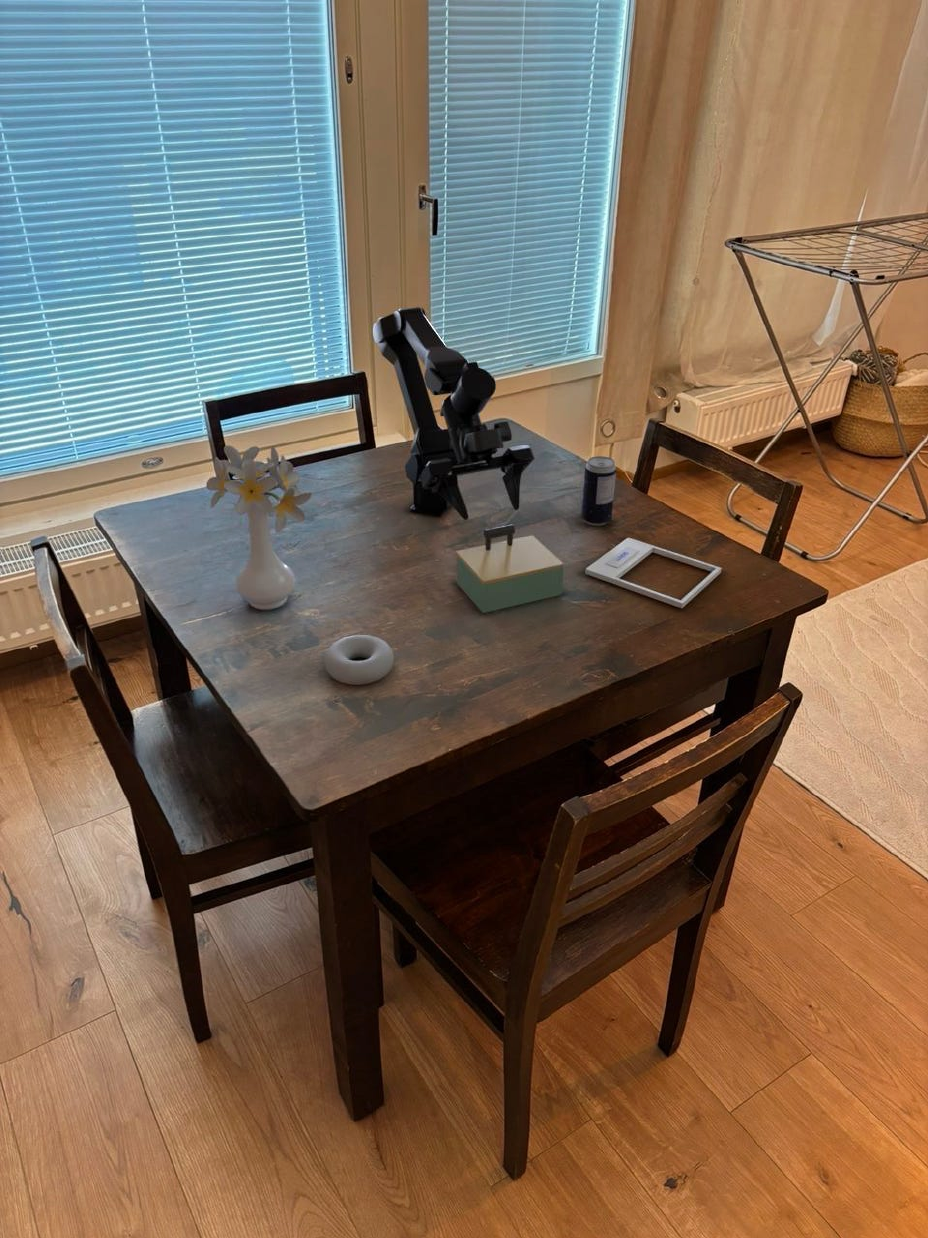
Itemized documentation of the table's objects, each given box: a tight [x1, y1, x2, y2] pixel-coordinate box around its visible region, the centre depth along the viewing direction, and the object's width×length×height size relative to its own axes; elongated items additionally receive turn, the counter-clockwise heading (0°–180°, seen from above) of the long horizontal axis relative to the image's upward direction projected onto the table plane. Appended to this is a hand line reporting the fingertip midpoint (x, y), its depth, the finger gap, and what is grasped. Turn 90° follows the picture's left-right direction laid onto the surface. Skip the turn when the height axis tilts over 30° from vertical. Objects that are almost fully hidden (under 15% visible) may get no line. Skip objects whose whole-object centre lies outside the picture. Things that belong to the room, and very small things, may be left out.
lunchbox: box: [456, 555, 564, 614], centre depth 150 cm, size 10×14×5 cm
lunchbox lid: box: [455, 524, 565, 585], centre depth 148 cm, size 11×14×4 cm
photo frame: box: [584, 537, 723, 609], centre depth 156 cm, size 15×1×18 cm
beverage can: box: [580, 455, 617, 527], centre depth 170 cm, size 6×6×12 cm
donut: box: [323, 634, 395, 686], centre depth 132 cm, size 10×4×10 cm
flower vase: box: [205, 445, 312, 611], centre depth 141 cm, size 13×18×25 cm
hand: (492, 514), depth 151 cm, fingers open, 9 cm apart
